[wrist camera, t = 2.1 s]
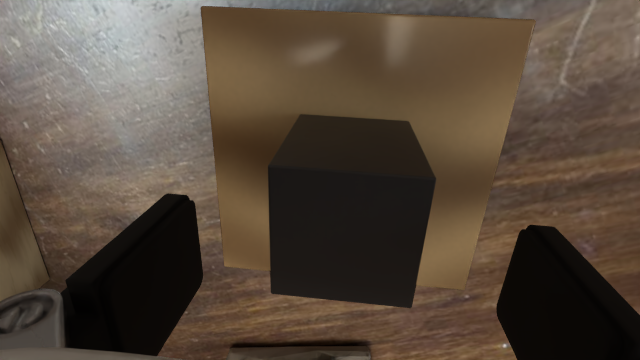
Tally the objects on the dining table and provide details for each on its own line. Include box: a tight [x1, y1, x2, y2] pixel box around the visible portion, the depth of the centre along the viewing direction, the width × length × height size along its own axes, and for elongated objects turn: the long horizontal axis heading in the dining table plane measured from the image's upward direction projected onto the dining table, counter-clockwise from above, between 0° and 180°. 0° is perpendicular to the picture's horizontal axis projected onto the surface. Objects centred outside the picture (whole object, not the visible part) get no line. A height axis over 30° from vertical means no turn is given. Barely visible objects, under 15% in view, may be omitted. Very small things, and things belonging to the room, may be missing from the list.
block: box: [268, 114, 436, 308], centre depth 13 cm, size 4×4×6 cm
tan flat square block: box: [201, 6, 536, 290], centre depth 17 cm, size 12×12×3 cm
